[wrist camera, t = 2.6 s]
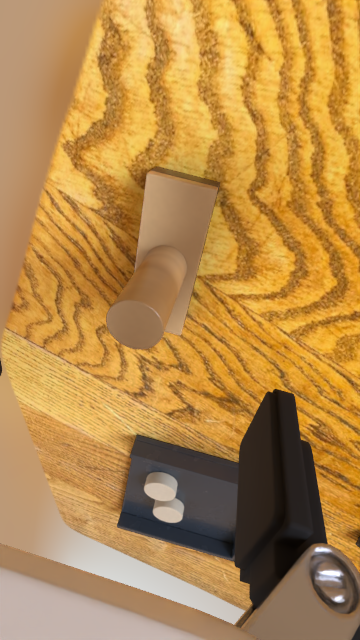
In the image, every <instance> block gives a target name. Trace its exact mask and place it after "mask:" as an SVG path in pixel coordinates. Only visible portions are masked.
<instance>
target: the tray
mask: <svg viewBox="0 0 360 640" xmlns="http://www.w3.org/2000/svg"><path fill="white" fill-rule="evenodd" d="M130 458H132V460H131V465H130V470H129V475H128V480H127V486H126V491H125V496H124V501H123V506H122V511H121V514H120V518H119V521H118V524H117V527H118V528H121V529H124V530H128V531H131V532H135V533H138V534H142V535H145V536H148V537H152V538H155V539H159V540H162V541H165V542H169V543H172V544H176V545H179V546H183V547H186V548H189V549H193V550H196V551H200V552H203V553H207V554H210V555H213V556H217V557H220V558H224V559H227V560H230V561H234V560H235V536H236V515H237V493H238V471H239V463H236V462H233V461H229V460H225V459H222V458H218V457H215V456H211V455H208V454H204V453H201V452H197V451H193V450H190V449H186V448H183V447H179V446H176V445H172V444H169V443H165V442H161V441H158V440H154V439H151V438H147V437H144V436H140V435H137V436H136V439H135V442H134V445H133V448H132V451H131V454H130ZM153 472H163V473H167V474H169V475H171V476H173V477H174V478H175V479H176V481H177V483H178V486H177V491H176V496H175V498H176V499H178V500H180V501H181V502H182V503H183V505H184V511H183V518H182V520H181V521H179V522H176V523H169V522H165V521H162V520H160V519H158V518H157V517H155V516H154V514H153V508H154V504H155V500H156V499H153V498H151V497H149V496H148V495H147V494H146V493H145V491H144V486H145V482H146V479H147V476H148V475H149V474H150V473H153ZM234 562H235V561H234Z"/></svg>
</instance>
